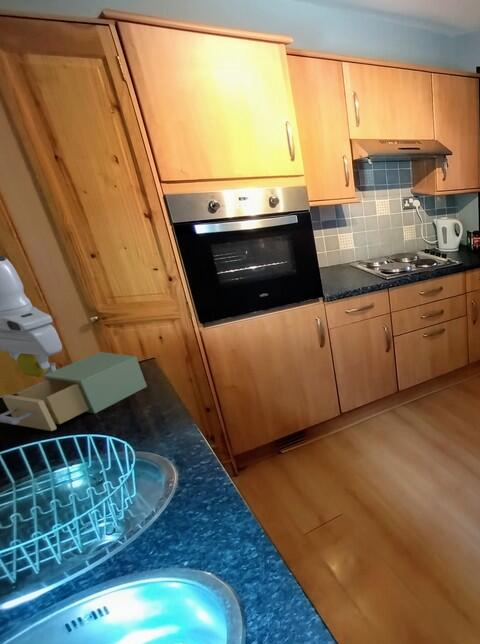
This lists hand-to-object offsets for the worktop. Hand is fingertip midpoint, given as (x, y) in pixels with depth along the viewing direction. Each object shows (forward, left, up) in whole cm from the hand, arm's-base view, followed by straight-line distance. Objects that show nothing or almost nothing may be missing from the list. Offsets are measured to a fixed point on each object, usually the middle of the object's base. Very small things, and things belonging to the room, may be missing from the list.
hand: (34, 366), depth 118 cm
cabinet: (0, +12, -16) cm, 20 cm away
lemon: (0, 0, -3) cm, 3 cm away
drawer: (0, -1, -15) cm, 15 cm away
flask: (-14, +10, -16) cm, 24 cm away
